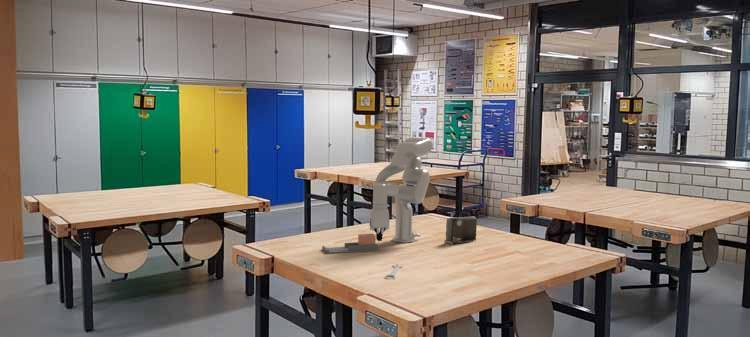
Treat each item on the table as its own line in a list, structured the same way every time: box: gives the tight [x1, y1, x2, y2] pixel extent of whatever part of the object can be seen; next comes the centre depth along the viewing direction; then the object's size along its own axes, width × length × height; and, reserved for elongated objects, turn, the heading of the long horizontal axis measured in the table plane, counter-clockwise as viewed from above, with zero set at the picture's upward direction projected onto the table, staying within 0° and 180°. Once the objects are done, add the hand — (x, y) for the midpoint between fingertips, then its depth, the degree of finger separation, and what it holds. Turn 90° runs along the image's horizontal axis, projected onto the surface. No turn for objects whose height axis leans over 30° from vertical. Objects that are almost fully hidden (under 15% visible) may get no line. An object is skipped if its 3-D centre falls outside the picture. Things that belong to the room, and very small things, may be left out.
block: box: [357, 233, 377, 245], centre depth 310 cm, size 8×5×6 cm, turn 110°
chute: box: [321, 241, 380, 255], centre depth 307 cm, size 28×10×3 cm, turn 110°
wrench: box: [384, 263, 404, 280], centre depth 266 cm, size 25×2×5 cm
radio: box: [444, 215, 478, 245], centre depth 332 cm, size 23×9×15 cm, turn 122°
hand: (379, 240), depth 312 cm, fingers closed
